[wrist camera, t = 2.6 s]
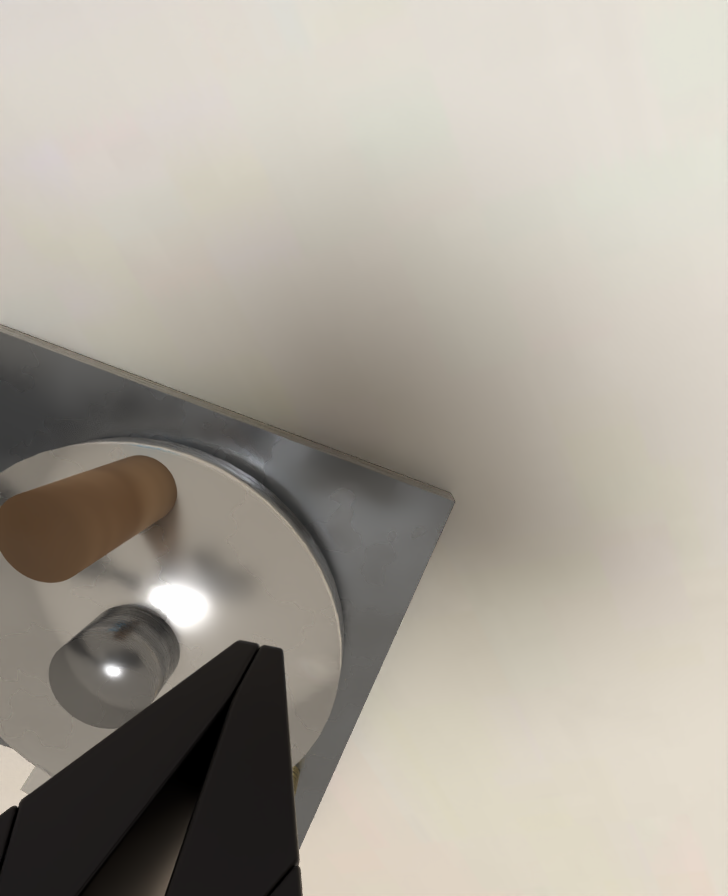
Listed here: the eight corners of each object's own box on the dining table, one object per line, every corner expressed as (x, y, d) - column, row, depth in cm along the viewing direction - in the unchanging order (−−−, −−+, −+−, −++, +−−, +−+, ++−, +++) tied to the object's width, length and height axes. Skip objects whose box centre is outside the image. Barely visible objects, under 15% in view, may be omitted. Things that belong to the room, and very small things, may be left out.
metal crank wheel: (-55, 732, 18) (-235, 879, 13) (-3, 374, 14) (-226, 378, 9) (267, 847, 18) (219, 1037, 13) (403, 525, 14) (412, 613, 9)
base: (-54, 698, 19) (-169, 783, 15) (0, 324, 15) (-138, 308, 11) (303, 826, 19) (281, 943, 15) (450, 493, 15) (472, 535, 11)
